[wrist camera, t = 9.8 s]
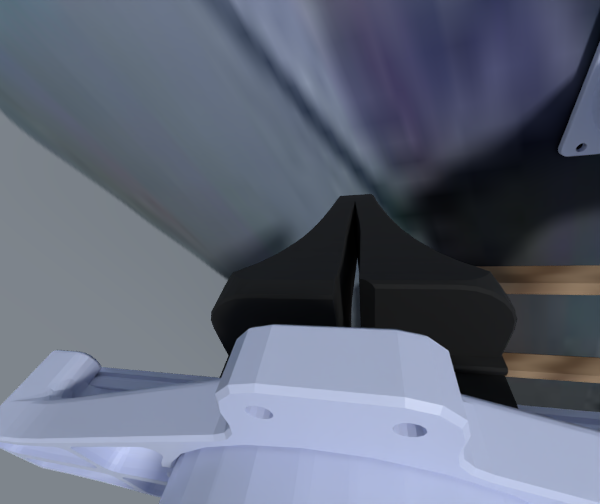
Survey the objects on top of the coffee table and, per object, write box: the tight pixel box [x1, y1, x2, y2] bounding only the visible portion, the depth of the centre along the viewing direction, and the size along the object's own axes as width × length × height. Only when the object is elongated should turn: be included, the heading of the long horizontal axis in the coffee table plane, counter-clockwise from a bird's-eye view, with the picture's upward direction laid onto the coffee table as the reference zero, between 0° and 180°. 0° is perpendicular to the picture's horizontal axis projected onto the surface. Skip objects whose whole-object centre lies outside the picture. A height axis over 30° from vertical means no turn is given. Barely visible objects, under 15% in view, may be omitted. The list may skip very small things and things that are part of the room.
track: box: [476, 266, 600, 383], centre depth 26 cm, size 22×13×4 cm, turn 99°
